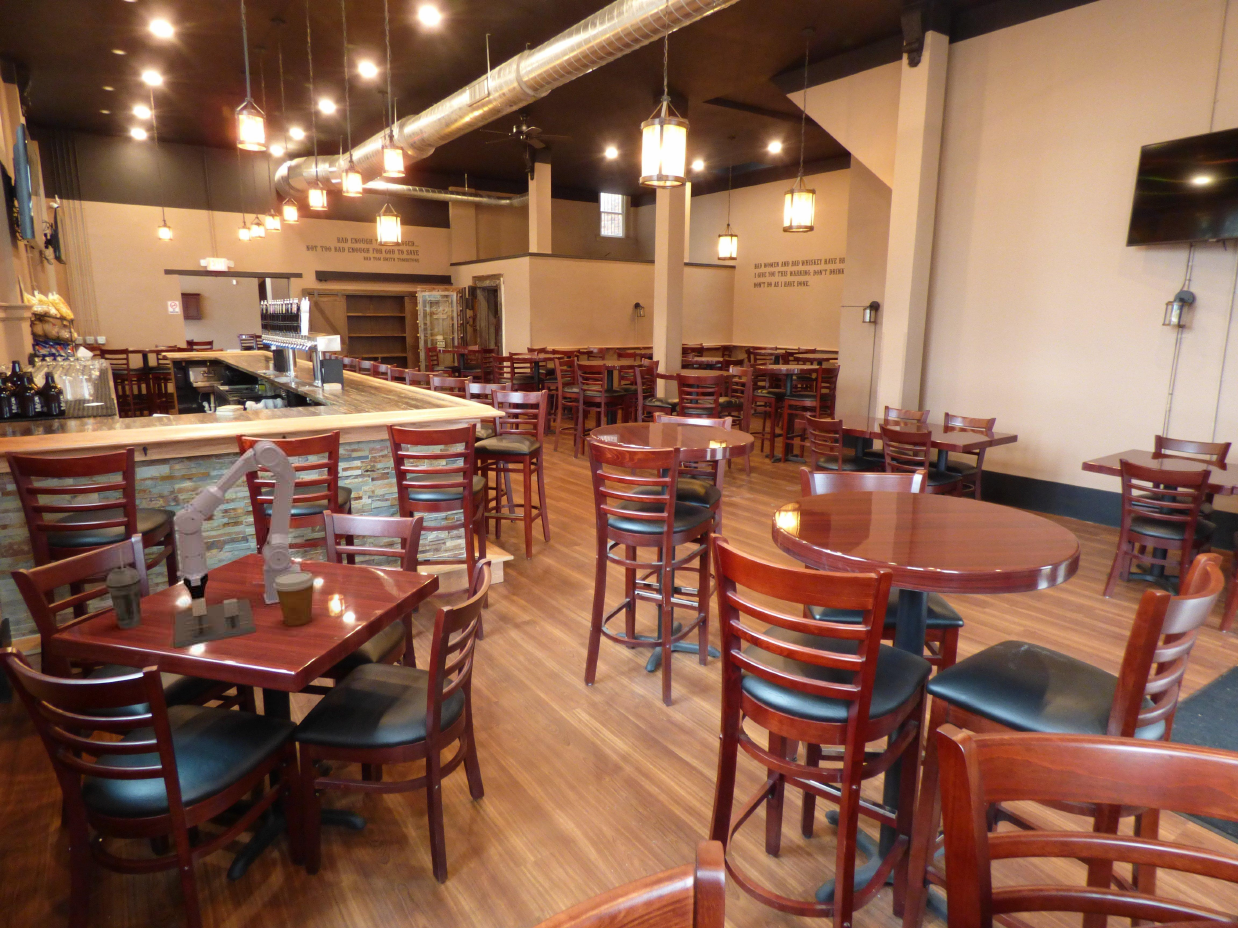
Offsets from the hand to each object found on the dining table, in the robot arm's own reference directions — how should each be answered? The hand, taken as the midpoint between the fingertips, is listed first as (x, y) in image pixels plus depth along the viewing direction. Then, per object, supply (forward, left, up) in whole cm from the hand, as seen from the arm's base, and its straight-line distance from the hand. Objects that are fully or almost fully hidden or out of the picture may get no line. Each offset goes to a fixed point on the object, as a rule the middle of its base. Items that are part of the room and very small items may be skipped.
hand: (198, 602), depth 186 cm
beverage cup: (+15, -1, -3) cm, 16 cm away
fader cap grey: (-7, +10, -1) cm, 13 cm away
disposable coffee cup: (-22, +19, -3) cm, 29 cm away
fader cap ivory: (0, +6, -1) cm, 6 cm away
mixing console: (-3, +10, -3) cm, 11 cm away
